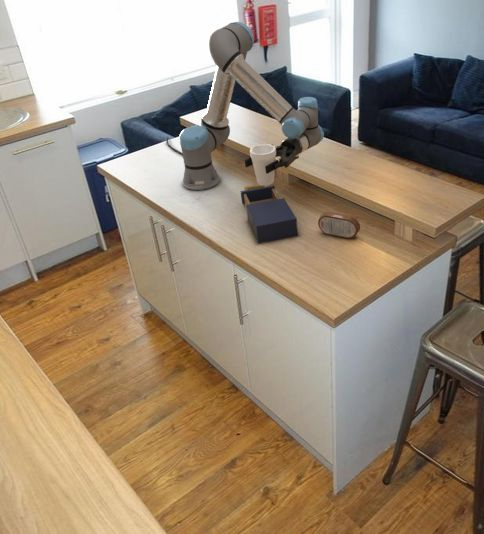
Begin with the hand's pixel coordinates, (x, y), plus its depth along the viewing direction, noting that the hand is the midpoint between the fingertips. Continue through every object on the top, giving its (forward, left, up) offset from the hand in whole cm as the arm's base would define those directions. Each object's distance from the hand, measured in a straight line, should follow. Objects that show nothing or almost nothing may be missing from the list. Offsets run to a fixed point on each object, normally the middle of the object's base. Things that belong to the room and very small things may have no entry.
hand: (256, 166), depth 205 cm
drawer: (-5, +1, -19) cm, 19 cm away
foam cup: (-3, +4, -8) cm, 9 cm away
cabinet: (+12, +1, -20) cm, 23 cm away
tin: (+26, +22, -20) cm, 39 cm away
